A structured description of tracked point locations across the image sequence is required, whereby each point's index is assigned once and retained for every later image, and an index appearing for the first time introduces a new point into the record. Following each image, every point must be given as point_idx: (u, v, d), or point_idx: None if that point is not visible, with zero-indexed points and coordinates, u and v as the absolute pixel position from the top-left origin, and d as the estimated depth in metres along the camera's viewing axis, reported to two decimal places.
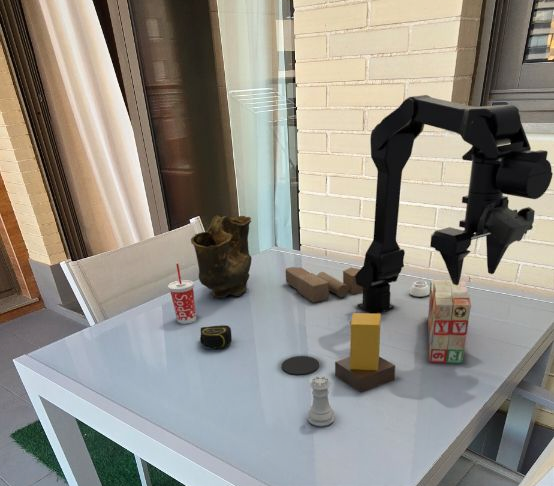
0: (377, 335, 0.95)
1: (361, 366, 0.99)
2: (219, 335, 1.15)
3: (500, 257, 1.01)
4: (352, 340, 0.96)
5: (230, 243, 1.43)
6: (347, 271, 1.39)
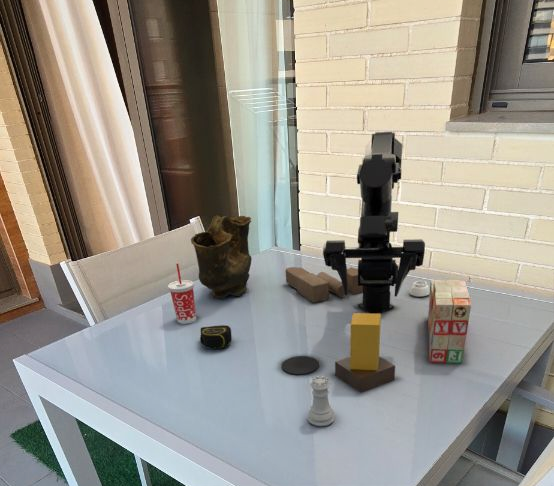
0: (377, 335, 0.95)
1: (361, 366, 0.99)
2: (219, 335, 1.15)
3: (399, 276, 1.00)
4: (352, 340, 0.96)
5: (230, 243, 1.43)
6: (347, 271, 1.39)
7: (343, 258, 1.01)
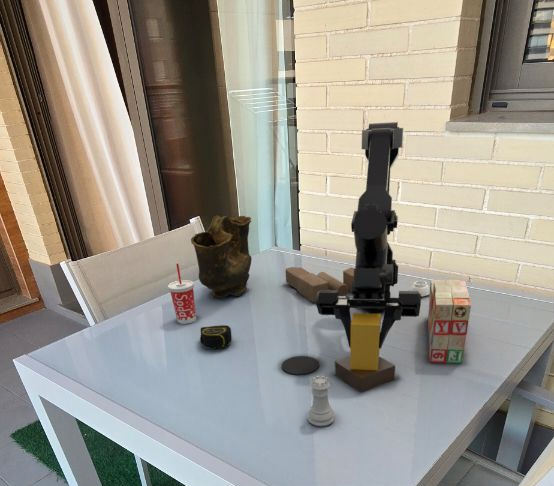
0: (377, 335, 0.95)
1: (361, 366, 0.99)
2: (219, 335, 1.15)
3: (383, 329, 0.97)
4: (352, 340, 0.96)
5: (230, 243, 1.43)
6: (347, 271, 1.39)
7: (347, 309, 0.97)
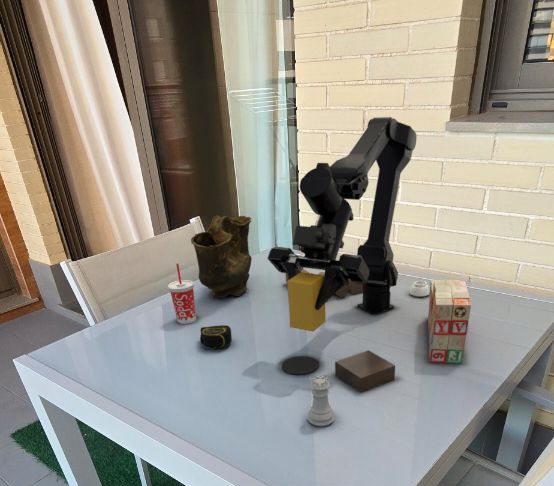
0: (310, 295, 0.95)
1: (299, 325, 1.00)
2: (219, 335, 1.15)
3: (322, 290, 0.97)
4: (289, 297, 0.98)
5: (230, 243, 1.43)
6: None
7: (292, 267, 0.99)
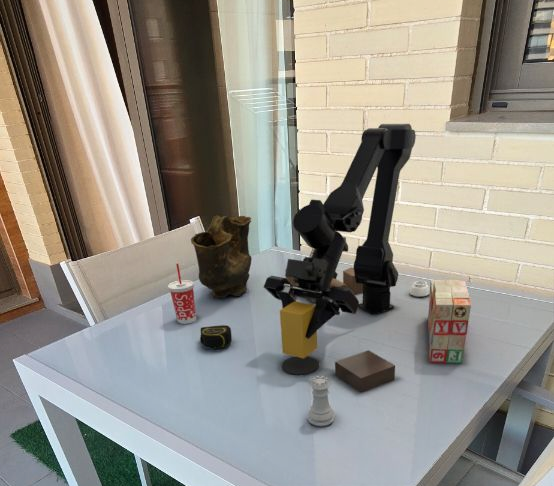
0: (301, 324, 1.00)
1: (291, 352, 1.05)
2: (219, 335, 1.15)
3: (313, 320, 1.01)
4: (281, 325, 1.03)
5: (230, 243, 1.43)
6: (347, 271, 1.39)
7: (286, 296, 1.03)
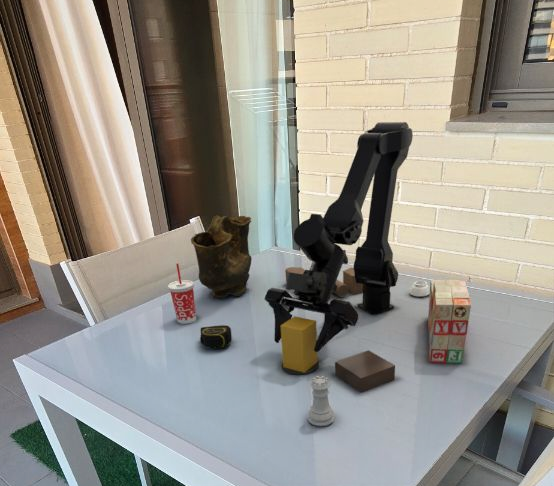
0: (301, 340, 1.02)
1: (291, 366, 1.06)
2: (219, 335, 1.15)
3: (321, 334, 1.01)
4: (282, 340, 1.04)
5: (230, 243, 1.43)
6: (347, 271, 1.39)
7: (278, 307, 1.06)
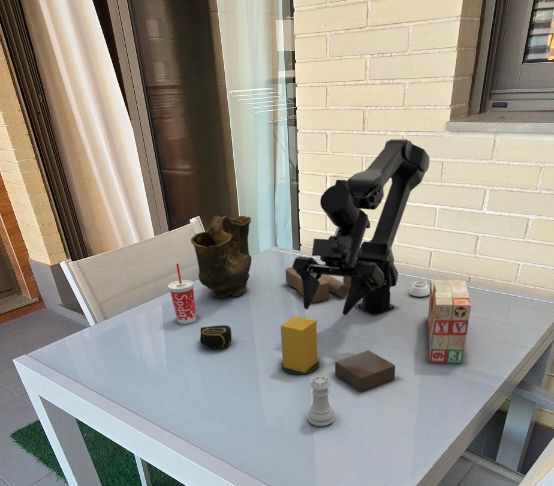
0: (301, 340, 1.02)
1: (291, 366, 1.06)
2: (219, 335, 1.15)
3: (349, 297, 1.05)
4: (282, 340, 1.04)
5: (230, 243, 1.43)
6: None
7: (306, 274, 1.10)
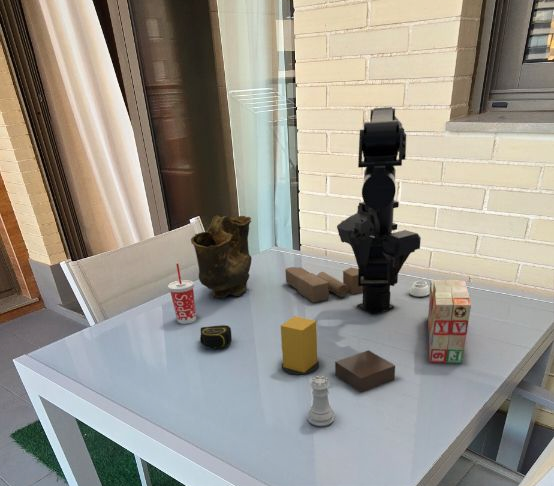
0: (301, 340, 1.02)
1: (291, 366, 1.06)
2: (219, 335, 1.15)
3: (388, 269, 1.05)
4: (282, 340, 1.04)
5: (230, 243, 1.43)
6: (347, 271, 1.39)
7: None
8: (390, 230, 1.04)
